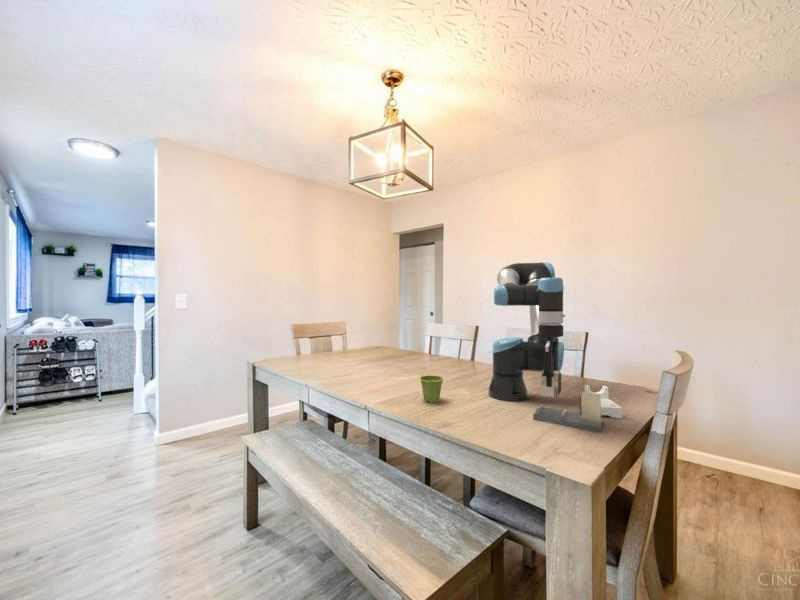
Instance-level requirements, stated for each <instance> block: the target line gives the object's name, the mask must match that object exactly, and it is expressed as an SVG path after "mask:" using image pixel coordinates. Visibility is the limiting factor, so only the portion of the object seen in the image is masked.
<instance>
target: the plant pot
mask: <svg viewBox="0 0 800 600" xmlns="http://www.w3.org/2000/svg"><path fill="white" fill-rule="evenodd" d="M419 380H420V383H421V388H422V395H423V401H425V400H426V401H425V402H427V401H428V402H430V401H437V402H439V401H440V399H441V389H442V384H443V381H444V380H445V378H444V377H443V376H441V375H434V374H433V375H431V374H429V375H426V374H425V375H421V376H420V377H419ZM438 400H439V401H438Z"/></svg>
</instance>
